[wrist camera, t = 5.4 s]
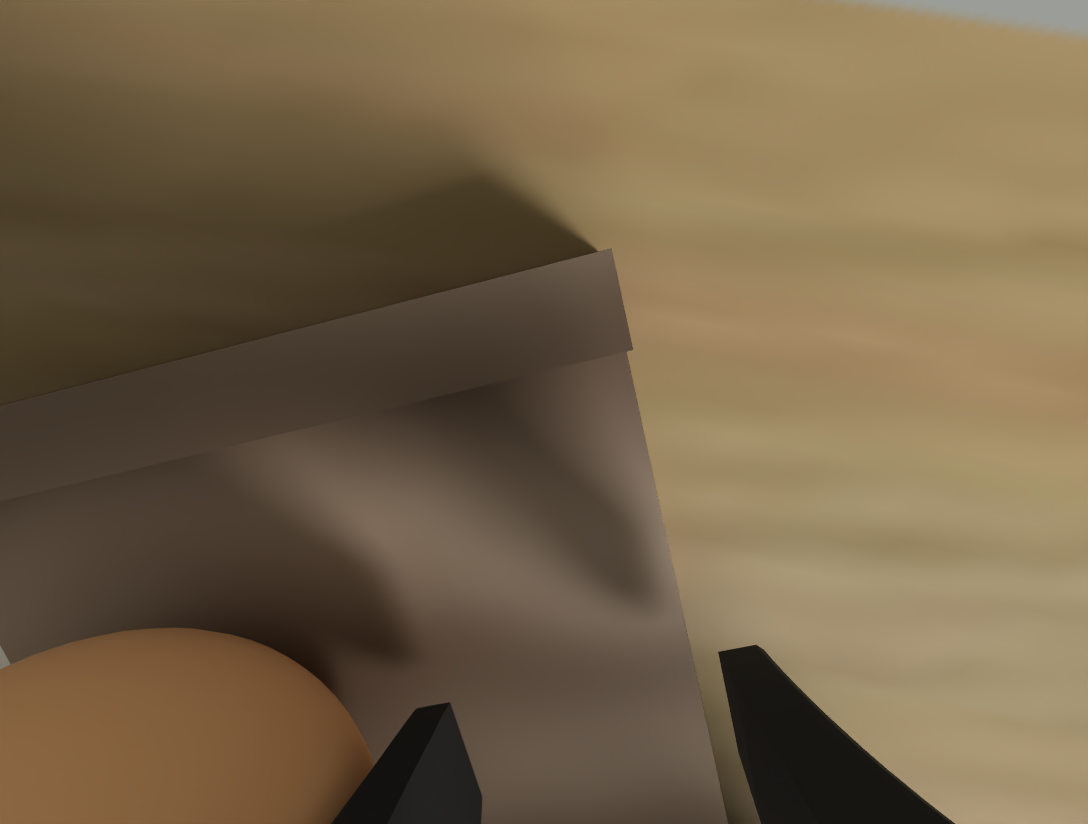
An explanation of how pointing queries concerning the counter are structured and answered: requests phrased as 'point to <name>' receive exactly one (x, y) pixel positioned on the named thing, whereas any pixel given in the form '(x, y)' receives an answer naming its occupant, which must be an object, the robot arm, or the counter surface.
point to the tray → (393, 533)
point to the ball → (173, 734)
